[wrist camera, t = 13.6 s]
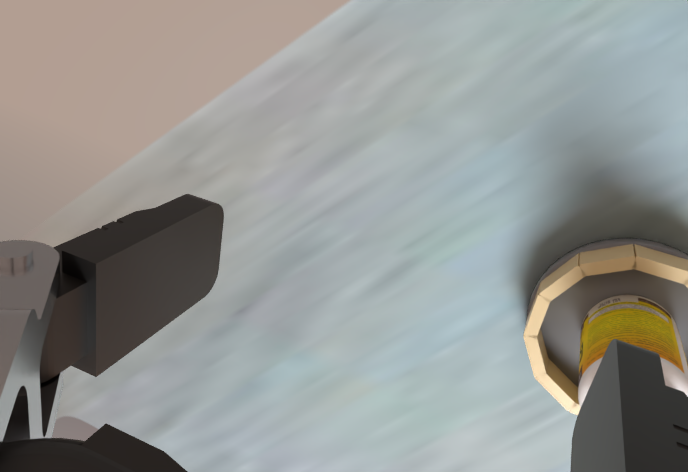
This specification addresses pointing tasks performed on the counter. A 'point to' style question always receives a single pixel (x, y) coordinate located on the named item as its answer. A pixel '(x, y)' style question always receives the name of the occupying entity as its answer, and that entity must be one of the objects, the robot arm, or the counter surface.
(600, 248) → the tan faceted ring
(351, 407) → the counter surface
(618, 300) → the supplement bottle
